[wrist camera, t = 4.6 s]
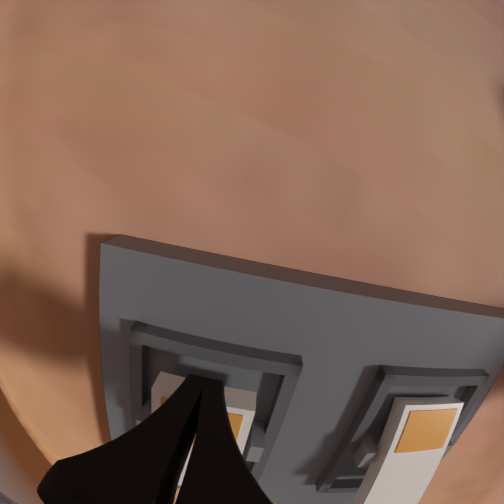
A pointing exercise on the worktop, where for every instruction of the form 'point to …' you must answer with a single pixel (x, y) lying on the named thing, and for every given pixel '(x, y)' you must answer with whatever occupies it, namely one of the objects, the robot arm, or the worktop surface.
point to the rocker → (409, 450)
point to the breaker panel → (288, 356)
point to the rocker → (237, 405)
